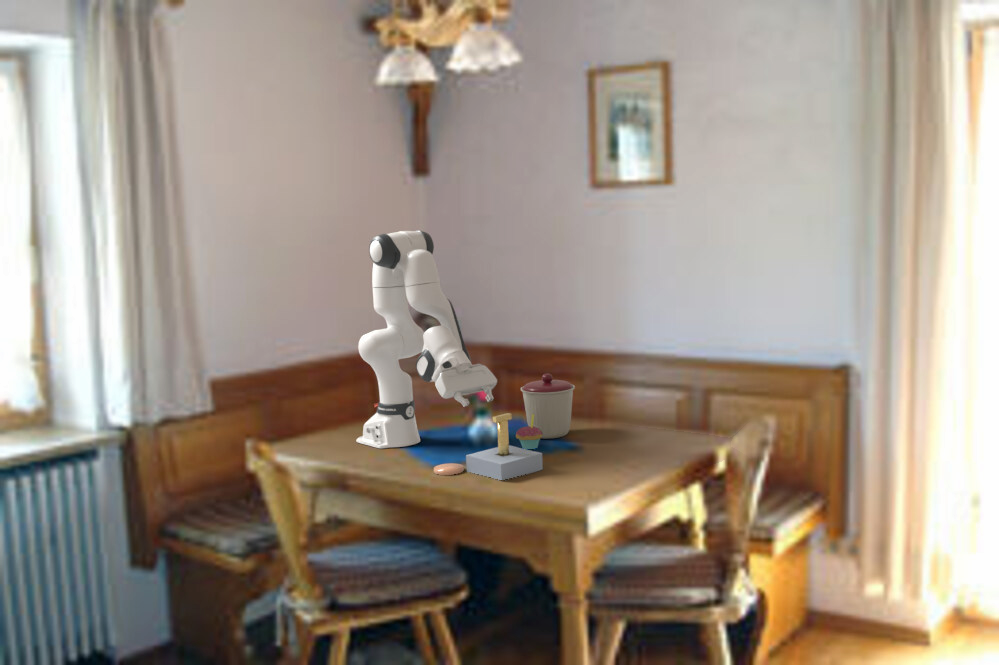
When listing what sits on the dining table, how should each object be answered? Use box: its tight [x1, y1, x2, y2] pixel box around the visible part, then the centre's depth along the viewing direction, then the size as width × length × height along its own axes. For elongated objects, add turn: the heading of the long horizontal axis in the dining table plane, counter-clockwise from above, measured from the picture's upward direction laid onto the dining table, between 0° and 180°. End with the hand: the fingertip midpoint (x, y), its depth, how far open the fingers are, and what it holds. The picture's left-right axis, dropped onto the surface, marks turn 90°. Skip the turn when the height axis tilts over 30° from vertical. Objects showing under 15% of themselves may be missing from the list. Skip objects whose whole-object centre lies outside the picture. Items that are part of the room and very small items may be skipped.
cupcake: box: [515, 412, 543, 450], centre depth 332 cm, size 9×8×12 cm
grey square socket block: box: [465, 444, 544, 481], centre depth 307 cm, size 16×16×5 cm
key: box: [492, 412, 513, 457], centre depth 306 cm, size 3×6×17 cm, turn 130°
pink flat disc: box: [433, 462, 465, 476], centre depth 310 cm, size 9×9×1 cm
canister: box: [520, 373, 576, 440], centre depth 347 cm, size 18×18×21 cm
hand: (479, 402), depth 313 cm, fingers open, 8 cm apart
